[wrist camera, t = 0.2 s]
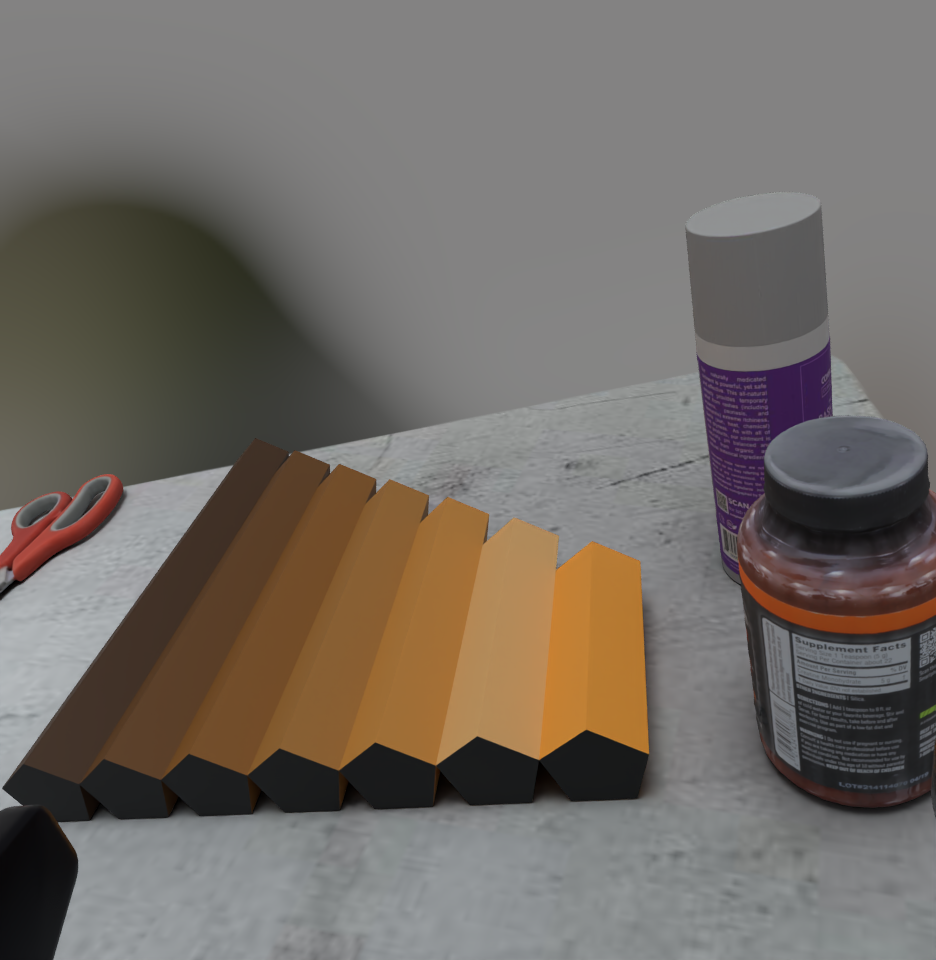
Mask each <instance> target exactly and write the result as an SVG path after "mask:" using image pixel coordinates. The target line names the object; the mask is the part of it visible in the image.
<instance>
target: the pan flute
mask: <svg viewBox="0 0 936 960" xmlns="http://www.w3.org/2000/svg"><path fill="white" fill-rule="evenodd" d="M428 504H429V495H426V494H424V493H422V492H419V491H417V490H414V489H412V488H409V487H407V486H405V485H402V484H400V483H397V482H395V481H393V480H390V479H389V481H388V482H387V483H386V484H385V485H384V486H383V487H382V488H381V489H380V490H379V491H378V492H377V493H376V479H375V478H372V477H370V476H367V475H365V474H363V473H360V472H358V471H355V470H353V469H350V468H348V467H346V466H343V465H341V464H339V465H338V466H337V467H336V468H335V469H334V470H333V471H332V472H331V473H330V465H329V464H327V463H324V462H322V461H320V460H317V459H315V458H312V457H310V456H307V455H305V454H303V453H300V452H298V451H294V452H293V453H292V454H291V455H290V456H289V453H288V451H285V450H283V449H280V448H278V447H275V446H273V445H270V444H268V443H266V442H263V441H261V440H258V439H256V438H255V439H254V441H253V442H252V443H251V444H250V446H249V447H248V448H247V449H246V450H245V451H244V453H243V454H242V455H241V456H240V458H239V459H238V460H237V461H236V463H235V464H234V466H233V467H232V468H231V470H230V471H229V473H228V474H227V475H226V477H225V478H224V480H223V481H222V482H221V484H220V485H219V487H218V488H217V489H216V491H215V492H214V494H213V495H212V496H211V498H210V499H209V500H208V502H207V503H206V505H205V506H204V507H203V509H202V510H201V512H200V513H199V514H198V516H197V517H196V519H195V520H194V521H193V523H192V524H191V526H190V527H189V528H188V530H187V531H186V533H185V534H184V535H183V537H182V538H181V540H180V541H179V542H178V544H177V545H176V547H175V548H174V549H173V551H172V552H171V553H170V555H169V556H168V558H167V559H166V560H165V562H164V563H163V565H162V566H161V567H160V569H159V570H158V572H157V573H156V574H155V576H154V577H153V579H152V580H151V581H150V583H149V584H148V586H147V587H146V588H145V590H144V591H143V593H142V594H141V595H140V597H139V598H138V599H137V601H136V602H135V604H134V605H133V606H132V608H131V609H130V611H129V612H128V613H127V615H126V616H125V618H124V619H123V620H122V622H121V623H120V625H119V626H118V627H117V629H116V630H115V632H114V633H113V634H112V636H111V637H110V639H109V640H108V641H107V643H106V644H105V646H104V647H103V648H102V650H101V651H100V652H99V654H98V655H97V657H96V658H95V659H94V661H93V662H92V664H91V665H90V666H89V668H88V669H87V671H86V672H85V673H84V675H83V676H82V678H81V679H80V680H79V682H78V683H77V685H76V686H75V687H74V689H73V690H72V692H71V693H70V694H69V696H68V697H67V698H66V700H65V701H64V703H63V704H62V705H61V707H60V708H59V710H58V711H57V712H56V714H55V715H54V717H53V718H52V719H51V721H50V722H49V724H48V725H47V726H46V728H45V729H44V731H43V732H42V733H41V735H40V736H39V738H38V739H37V740H36V742H35V743H34V745H33V746H32V747H31V749H30V750H29V751H28V753H27V754H26V756H25V757H24V758H23V760H22V761H21V763H20V764H19V765H18V767H17V768H16V770H15V771H14V772H13V774H12V775H11V777H10V778H9V779H8V781H7V782H6V784H5V785H4V786H3V788H2V789H3V790H5V791H6V792H7V793H8V794H9V795H11V796H12V797H13V798H14V799H15V800H17V801H18V802H19V803H20V804H22V805H23V806H26V805H42V806H44V807H46V808H47V809H48V810H49V811H50V812H51V814H52V815H53V817H54V818H55V820H56V821H81V820H90V819H91V817H92V815H93V814H94V812H95V810H96V808H97V807H98V805H99V803H101V804H103V805H104V806H105V807H106V808H107V809H108V810H109V811H111V812H112V813H113V814H114V815H115V816H116V817H118V818H119V819H131V818H155V817H169V815H170V813H171V811H172V809H173V807H174V805H175V803H176V801H177V799H178V797H180V798H181V799H182V800H183V801H184V802H185V803H186V804H187V805H189V806H190V807H191V808H192V809H193V810H194V811H195V812H196V813H197V814H198V815H199V816H205V815H230V814H252V812H253V809H254V807H255V804H256V802H257V800H258V797H259V795H260V792H261V790H263V791H264V792H265V793H266V794H267V795H268V796H269V797H270V798H271V799H272V800H273V801H274V802H275V803H276V804H277V805H278V806H279V807H280V808H281V809H282V810H283V811H284V812H304V811H329V810H340V808H341V804H342V801H343V798H344V795H345V792H346V788H347V785H348V782H350V783H351V784H352V785H353V786H354V787H355V788H356V789H357V791H358V792H359V793H360V794H361V795H362V796H363V797H364V798H365V799H366V800H367V801H368V802H369V803H370V804H371V805H372V806H373V807H374V808H375V809H379V808H404V807H428V806H433V804H434V799H435V794H436V789H437V784H438V780H439V775H440V771H441V772H442V773H443V774H444V776H445V777H446V778H447V779H448V780H449V781H450V782H451V784H452V785H453V786H454V787H455V788H456V789H457V790H458V792H459V793H460V794H461V795H462V796H463V797H464V798H465V800H466V801H467V802H468V803H469V804H470V805H478V804H503V803H528V802H532V799H533V793H534V787H535V781H536V775H537V769H538V763H539V761H540V762H541V763H542V764H543V766H544V767H545V768H546V769H547V771H548V772H549V773H550V775H551V776H552V777H553V778H554V780H555V781H556V782H557V783H558V785H559V786H560V787H561V788H562V790H563V791H564V792H565V793H566V795H567V796H568V797H569V798H570V800H571V801H577V800H602V799H627V798H637V796H638V793H639V789H640V785H641V782H642V778H643V775H644V771H645V767H646V764H647V760H648V756H649V742H648V720H647V698H646V676H645V654H644V632H643V610H642V589H641V567H640V561H639V560H636V559H634V558H631V557H629V556H626V555H624V554H622V553H619V552H617V551H614V550H612V549H610V548H607V547H605V546H602V545H600V544H598V543H595V542H593V541H592V542H591V543H589V544H588V545H587V546H586V547H584V548H583V549H582V550H581V551H579V552H578V553H577V554H576V555H574V556H573V557H572V558H571V559H569V560H568V561H567V562H566V563H564V564H563V565H562V566H561V567H559V568H558V569H557V570H556V563H557V551H558V540H559V536H558V535H555V534H553V533H551V532H548V531H546V530H543V529H541V528H539V527H536V526H534V525H531V524H529V523H526V522H524V521H522V520H519V519H517V518H513V519H512V520H511V521H509V522H508V523H507V524H506V525H505V526H504V527H503V528H501V529H500V530H499V531H498V532H497V533H496V534H495V535H493V536H492V537H491V538H490V539H489V540H488V541H487V532H488V521H489V514H487V513H485V512H483V511H480V510H478V509H475V508H473V507H470V506H468V505H466V504H463V503H461V502H458V501H456V500H454V499H451V498H449V497H447V498H446V499H445V500H444V501H443V502H442V503H441V504H439V505H438V506H437V507H436V508H435V509H434V510H433V511H432V512H431V513H430V514H429V515H428Z"/></svg>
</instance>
